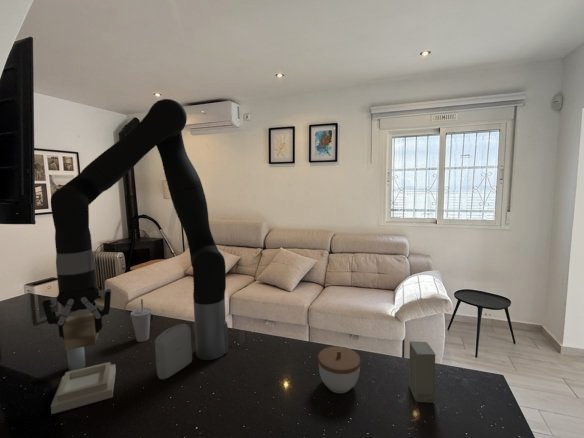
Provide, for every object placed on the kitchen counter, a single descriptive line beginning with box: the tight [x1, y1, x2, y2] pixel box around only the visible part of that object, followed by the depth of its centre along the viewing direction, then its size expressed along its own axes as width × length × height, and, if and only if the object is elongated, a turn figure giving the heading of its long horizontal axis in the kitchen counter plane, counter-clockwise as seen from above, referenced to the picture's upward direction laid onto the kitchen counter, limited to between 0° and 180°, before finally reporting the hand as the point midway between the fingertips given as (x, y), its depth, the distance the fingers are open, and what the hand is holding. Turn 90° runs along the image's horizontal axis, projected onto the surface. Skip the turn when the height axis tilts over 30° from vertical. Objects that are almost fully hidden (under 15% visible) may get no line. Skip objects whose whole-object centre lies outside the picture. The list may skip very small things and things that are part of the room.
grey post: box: [66, 347, 86, 372], centre depth 86 cm, size 4×4×7 cm
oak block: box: [63, 312, 99, 352], centre depth 75 cm, size 6×6×6 cm
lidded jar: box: [317, 346, 361, 394], centre depth 77 cm, size 11×11×9 cm
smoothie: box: [130, 298, 153, 343], centre depth 101 cm, size 6×6×14 cm
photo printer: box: [154, 323, 193, 380], centre depth 84 cm, size 10×4×12 cm, turn 149°
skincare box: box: [408, 340, 436, 404], centre depth 74 cm, size 6×4×12 cm
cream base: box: [50, 361, 117, 415], centre depth 76 cm, size 12×12×4 cm
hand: (82, 334), depth 75 cm, fingers closed on oak block, 6 cm apart
